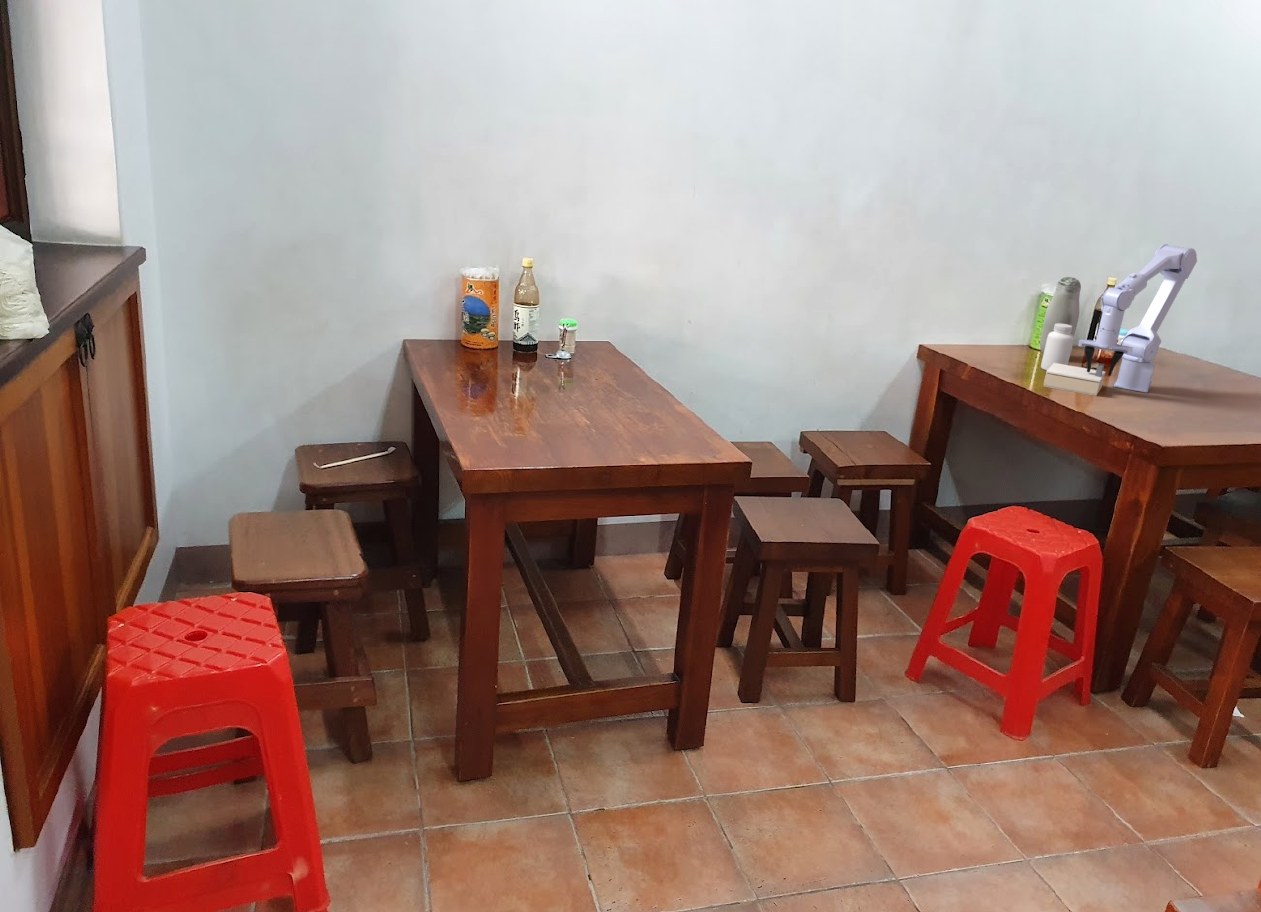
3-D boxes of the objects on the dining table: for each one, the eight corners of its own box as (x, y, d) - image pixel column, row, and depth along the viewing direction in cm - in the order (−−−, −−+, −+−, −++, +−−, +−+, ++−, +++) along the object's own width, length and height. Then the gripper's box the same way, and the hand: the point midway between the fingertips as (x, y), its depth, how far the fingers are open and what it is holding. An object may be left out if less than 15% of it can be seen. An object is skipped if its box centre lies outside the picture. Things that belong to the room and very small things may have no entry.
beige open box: (1101, 386, 296) (1104, 374, 294) (1096, 396, 284) (1099, 383, 283) (1050, 377, 303) (1053, 365, 301) (1043, 386, 291) (1045, 373, 290)
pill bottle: (1063, 374, 308) (1073, 328, 303) (1037, 369, 312) (1047, 324, 307) (1069, 370, 314) (1079, 325, 309) (1044, 365, 318) (1053, 321, 313)
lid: (1105, 373, 294) (1107, 361, 293) (1099, 382, 283) (1102, 370, 282) (1053, 364, 301) (1056, 352, 300) (1046, 372, 290) (1048, 360, 289)
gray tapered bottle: (1030, 355, 332) (1047, 274, 322) (1054, 354, 335) (1072, 274, 326) (1050, 362, 323) (1068, 279, 314) (1074, 362, 326) (1093, 280, 317)
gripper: (1081, 327, 284) (1071, 371, 289) (1134, 335, 277) (1123, 380, 282) (1084, 323, 290) (1074, 367, 295) (1137, 331, 283) (1126, 375, 288)
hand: (1098, 373), depth 289 cm, fingers open, 5 cm apart
